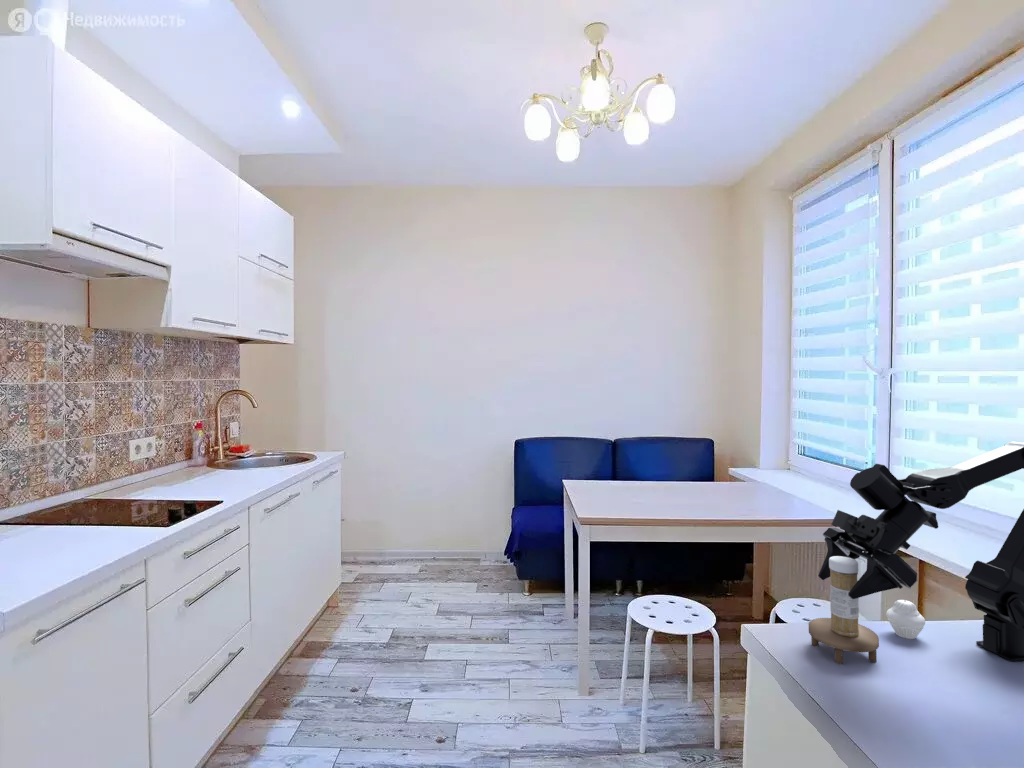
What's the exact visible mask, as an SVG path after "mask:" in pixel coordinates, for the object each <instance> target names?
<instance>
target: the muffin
mask: <svg viewBox="0 0 1024 768" xmlns="http://www.w3.org/2000/svg"><path fill="white" fill-rule="evenodd" d="M886 618H887V619H888V623H889V624H890V626H891V628H892V629H893V631H894V633H895V634H896V635H897V636H898V637H900V638H903V639H907V640H915V639H917V637H919V634H921V632H922V631H923V629H924V626H925V625H926V619H925V617H924V616H923V615H922V614H921V613H920V612H919V611H918V609H917V606H916V604H914V603H913V602H911V601H909V600H906V599H898V600H896V601H894V603H893V605H892V607H890V608H888V609H887V611H886Z"/></svg>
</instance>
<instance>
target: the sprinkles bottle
mask: <svg viewBox="0 0 1024 768" xmlns="http://www.w3.org/2000/svg"><path fill="white" fill-rule="evenodd" d="M829 568H830V577H829V578H830V582H829V583H830V585H829V587H830V588H829V589H830V590H829V591H830V595H829V599H830V600H829V603H830V618H831V629H832V631H834V632H835V633H837V634H840V635H843V636H847V637H855V636H858V635H859V630H858V624H859V617H860V613H859V612H860V611H859V610H860V609H859V607H860V606H859V605H860V604H859V600H860V599H859V598H856V599H852V598H851V597H850V596H849V595H848V593H849V592H850V590H851V589H852V587H853V586H854V585H855V584H856V583H857V581H858V580H859V579H858V575H859V562H858V561H857V560H856V559H852V558H848V557H843V556H833V557H830V558H829Z"/></svg>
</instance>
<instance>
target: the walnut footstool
mask: <svg viewBox="0 0 1024 768" xmlns="http://www.w3.org/2000/svg"><path fill="white" fill-rule="evenodd" d="M858 630H859V635H858V636H855V637H847V636H843V635H840V634H837V633H835V632H834V631H832V629H831V617H820V618H819V617H818V618H815V619H812V620H810V621H809V622H808V634H809V635H810V637H811V638H810V639H811V645H812V646H813V647H819V646H820V645H819V643H821V644H823V645H826V646H827V647H831V648H833V649H834V662H835V663H836V664H838V665H843V664H844V653H843V652H844V651H846V652H853V653H868V654H867V655H868V661H869V660H870V662H871V663H877V662H878V661H877V658H878V657H877V650H878V648H879V647H880V638H879V635H878V634H877V633H876V632H875V631H874V630H872V629H871V628H869V627H867V626H865V625H863V624H860V623H858Z"/></svg>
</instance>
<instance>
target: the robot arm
mask: <svg viewBox="0 0 1024 768" xmlns="http://www.w3.org/2000/svg"><path fill="white" fill-rule="evenodd" d="M1022 469H1023V470H1024V441H1017V440H1013V441H1010V442H1007V443H1005V444H1004V445H1003V446H1000V447H998V448H996V449H992V450H989V451H988V452H985V453H983V454H981V455H977V456H974V457H973V458H971V459H968V460H965V461H963V462H960V463H957V464H955V465H953V466H949V467H944V468H943V467H942V468H930V469H926V470H921V471H917V472H915V471H914V472H912V473H911V474H909V475H907V477H906V478H905V477H904V478H900V479H898V478H897V477H896V476H895V475H894V474H893V473H892V472H891V471H890V469H889V468H888V466H886V465H885V464H881V463H874V465H872V466H871V467H868V468H865V469H863V470H861V471H860V472H857V473H855V474H854V475H853V477H852V478H851V479H850V483H849V486H850V488H851V489H853V490H854V492H856V493H857V494H858V495H859V496H860V498H862V499H863V500H864V501H865V502H866V503H867V504H868V505H869V507H870V506H871V508H872V509H873V510H876V511H877V510H878V511H882V510H883V511H882V512H880V514H879V515H878V516H877V517H876V518H873V517H870V516H868V515H866V514H861V515H859V516H858V517H857V516H855V515H852V514H850V513H847V512H845V511H842V510H840V509H837V511H836V513H835V515H834V517H833V519H832V522H831V526H833V527H827V529H826V530H825V531H824V532H823V533H822V536H823V537H824V542H825V544H826V546H827V553H826V556H825V557H824V560H823V563H822V565H821V568H820V569H819V572H818V578H819V579H820V580H822V581H825V580H826V579H828V578H830V568H829V558H830V557H833V556H843V557H848V558H852V559H854V560H856V559H859V558H860V557H861V558H863V559H865V560H866V570H865V572H864V573H863V574H862V575H861V577H860V578H859V579H857V580H858V581H857V583H856V584H855V585H854V586H853V587H852V589H851V590H850V592H849V593H848V595H849V596H850V597H851V598H852V599H856V598H858V599H860V598H863V597H867V596H870V595H872V594H877V593H880V592H884V591H889V590H894V589H900V590H901V589H903V588H904V587H905V588H908V589H911V588H913V586H914V585H915V584H916V583H917V582H918V573H917V571H915V570H914V568H912V567H911V566H910V565H909V564H908V563H907V561H905V560H904V559H903V558H902V556H900V555H899V554H897V552H898V550H900V548H901V549H904V550H908V549H909V548H910V547H911V544H910V543H908V542H907V541H909V539H910V538H912V537H913V535H914V534H916V532H917V531H919V530H920V528H921V527H923V525H924V526H927V527H930V528H931V529H932V528H933V529H937V530H938V528H939V523H938V520H937V513H936V512H933V511H929V510H926V509H925V508H924V507H923V506H922V505H925V506H929V507H933V508H935V509H941V510H944V509H949V508H951V507H953V506H955V505H956V504H958V503H960V502H961V501H962V500H964V499H965V498H966V497H967V495H968V494H969V492H970V491H971V490H973V489H974V488H977V487H980V486H983V485H985V484H987V483H990V482H993V481H995V480H997V479H1000V478H1002V477H1005V476H1008V475H1010V474H1012V473H1015V472H1017V471H1020V470H1022ZM964 578H965V579H966V582H965V587H964V588H965V590H966V593H967V596H968V597H969V599H971V602H972V604H973V607H974V609H976V610H977V611H981V612H983V613H985V614H984V615H983V623H982V640H977V641H975V644H976V645H977V646H979V647H981V648H983V649H985V650H987V651H989V652H992V653H994V654H995V655H997V656H999V657H1001V658H1002V659H1005V660H1007V661H1010V662H1019V661H1024V508H1023V510H1022V511H1021V512H1020V514H1019V516H1018V518H1017V519H1016V522H1015V523H1014V525H1013V526H1012V529H1010V532H1009V533H1008V536H1007V538H1006V539H1005V540H1004V542H1003V544H1002V546H1001V548H1000V550H999V551H998V553H997V555H996V556H995V558H994V559H992V560H989V561H987V562H983V561H981V560H976V561H975V562H974V563H973V565H972V567H971V571H970V572H969V573H968V574H967V575H965V577H964Z"/></svg>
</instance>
